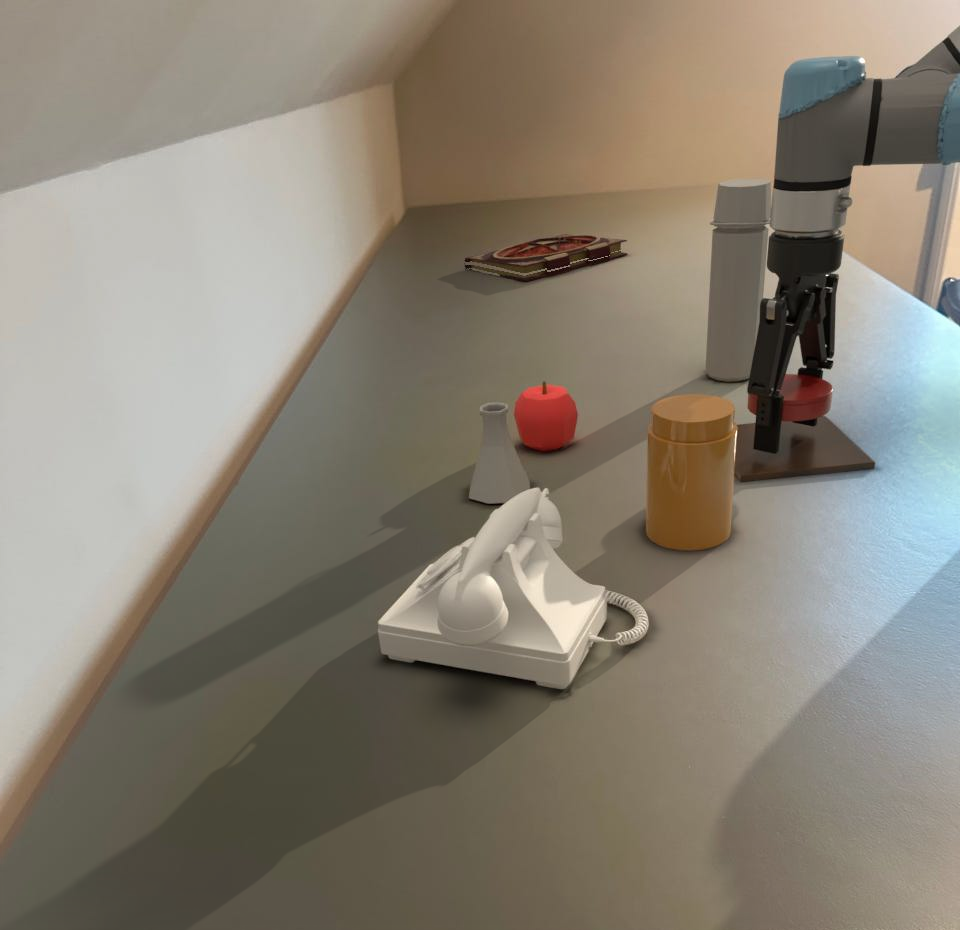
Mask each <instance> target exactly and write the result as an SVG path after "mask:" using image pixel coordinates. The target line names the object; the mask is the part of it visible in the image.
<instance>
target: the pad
mask: <svg viewBox="0 0 960 930" xmlns="http://www.w3.org/2000/svg"><path fill="white" fill-rule="evenodd" d="M736 425H737V427H738V433H737V447H736V461H735V477H737V479H738V480H739V481H740V482H741V483H742V482H753V481H764V480H773V479H783V478H793V477H803V476H812V475H823V474H824V475H825V474H833V473H844V472H845V473H846V472H853V471H854V472H855V471H863V470H864V471H865V470H873V469H875V467H876V462H875V460H873V458H871V457H870V456H869V455H868V454H867V453H866V452H865V451H864V450H863V449H862V448H861V447H859V446H858V445H857V443H856V442H854V441H853V440H852V439H851V438H850V437H849V436H848V435H847V434H845V432H844V431H842V429H840V428H839V427H838V426H837V424H835V423H833V421H832V420H830V418H828V417H827V416H826V415H824V416H822V417H819V418H818V419H817V425H816V426H814V427H813V426H808V425H803V424H798V423H793V421H781V430H780V440H779V450H778V452H777V453H776V454H773V453H769V452H764V451H759V450H755V449H753V446H754V434H755V422H749V423H740V424H736Z"/></svg>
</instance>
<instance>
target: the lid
mask: <svg viewBox="0 0 960 930" xmlns="http://www.w3.org/2000/svg"><path fill="white" fill-rule="evenodd" d="M833 388H834V387H833V385H832V384H831V383H830V382H829V381H827V380H825V379H824V378H822V379H820V378H817V377H813V376H807V375H799V374H798V373H797V374H796V373H795V374H794V373H786V374H785V378H784V381H783V385H782V388H781V391H780V394H779V395H783V396H784V400H783V410H782V420H781V421H805V420H811V419H816V418H819V417H822V416H826V415H827V414H828V413H829V412H830V411H831V406H832V397H833V392H834V391H833V390H834V389H833ZM757 399H758V396H757V395H752V394H748V393H747V405H746V407H747V410H748V411H749V413H751V414H753V415H755V416H756V410H757Z"/></svg>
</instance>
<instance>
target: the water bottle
mask: <svg viewBox="0 0 960 930" xmlns="http://www.w3.org/2000/svg"><path fill="white" fill-rule="evenodd" d="M715 198H716V199H715V205H714V213H713V220H712V221H711V222H710V223H709V225H710V226H713V227H715V228H713V229H712V235H711V251H710V252H711V253H710V254H711V257H710V273H709V291H708V292H709V294H708V312H707V332H706V351H705V372H706V374H707V376H708V378H711V379H713V380H716V381H718V382H725V383H726V382H727V383H733V382H741V381H746V380H749V377H750V371H751V366H752V360H753V355H754V350H755V344H756V339H757V333H758V328H759V322H760V303H761V300H762V299H763V298H764V290H765V278H766V268H767V254H768V242H769V231H770V230H769V228H768V226H767V225H770V215H771V204H772V181H771V180H769V179H765V178H736V179H729V180H724V181H721V182H718V185H717V191H716V197H715Z"/></svg>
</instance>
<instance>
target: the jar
mask: <svg viewBox="0 0 960 930" xmlns="http://www.w3.org/2000/svg"><path fill="white" fill-rule="evenodd" d="M735 412H736V407H735V404H734V403H733V402H732V401H730V400H729V399H727V398H724V397H721V396H717V395H713V394H703V393H687V394H678V395H673V396H669V397H668V396H667V397H665V398H662V399H659V400H658V401H656V402H655V403H654V404H653V405H652V406H651V408H650V413H651V419H652V420H651V423H649V424H648V427H647V444H646V445H647V447H646V449H647V450H646V451H647V453H646V456H647V457H646V501H645V502H646V503H645V506H646V507H645V508H646V509H645V534H646V536H647V538H648V539H649V540H650V541H651V542H652V543H655V544H656V545H657V546H660V547H663V548H666V549H670V550H676V551H687V552H688V551H690V552H692V551H702V550H703V551H704V550H708V549H712V548H716V547H718V546H720V545H722V544H724V543H725V542H726V541H727V540H729V538H730V536H731V531H732V530H731V529H732V516H733V503H734V489H735V477H736V475H735V461H736V447H737V433H738V427H737V425H738V424H737V423H736V422H735Z"/></svg>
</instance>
